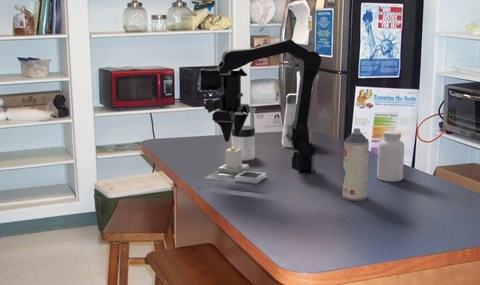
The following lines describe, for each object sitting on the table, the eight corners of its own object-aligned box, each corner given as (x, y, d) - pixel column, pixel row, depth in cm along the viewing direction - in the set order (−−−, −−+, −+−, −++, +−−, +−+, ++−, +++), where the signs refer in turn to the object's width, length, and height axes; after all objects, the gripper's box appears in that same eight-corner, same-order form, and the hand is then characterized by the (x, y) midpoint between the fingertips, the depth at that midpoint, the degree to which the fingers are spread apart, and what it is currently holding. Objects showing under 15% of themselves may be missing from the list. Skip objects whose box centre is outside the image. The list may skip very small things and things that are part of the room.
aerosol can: (345, 193, 183) (347, 125, 178) (368, 195, 180) (371, 127, 176) (339, 199, 176) (341, 130, 172) (363, 202, 174) (366, 131, 170)
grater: (309, 147, 243) (311, 96, 239) (282, 147, 243) (283, 96, 239) (307, 141, 253) (308, 92, 249) (281, 141, 253) (282, 92, 249)
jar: (239, 164, 216) (238, 130, 213) (226, 160, 222) (226, 127, 220) (260, 161, 221) (260, 128, 218) (247, 156, 227) (247, 124, 225)
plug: (241, 169, 205) (241, 147, 203) (237, 172, 201) (236, 149, 199) (230, 168, 206) (230, 146, 204) (225, 171, 202) (225, 148, 201)
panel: (275, 175, 203) (275, 166, 202) (258, 188, 188) (258, 179, 188) (224, 169, 209) (224, 162, 209) (204, 181, 195) (203, 173, 194)
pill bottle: (404, 177, 200) (407, 131, 196) (399, 183, 192) (402, 135, 189) (379, 174, 203) (382, 129, 200) (374, 180, 196) (376, 133, 193)
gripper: (219, 86, 209) (219, 131, 212) (196, 93, 192) (197, 142, 195) (250, 87, 205) (250, 134, 208) (230, 94, 188) (230, 145, 191)
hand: (232, 138), depth 201 cm, fingers open, 9 cm apart
